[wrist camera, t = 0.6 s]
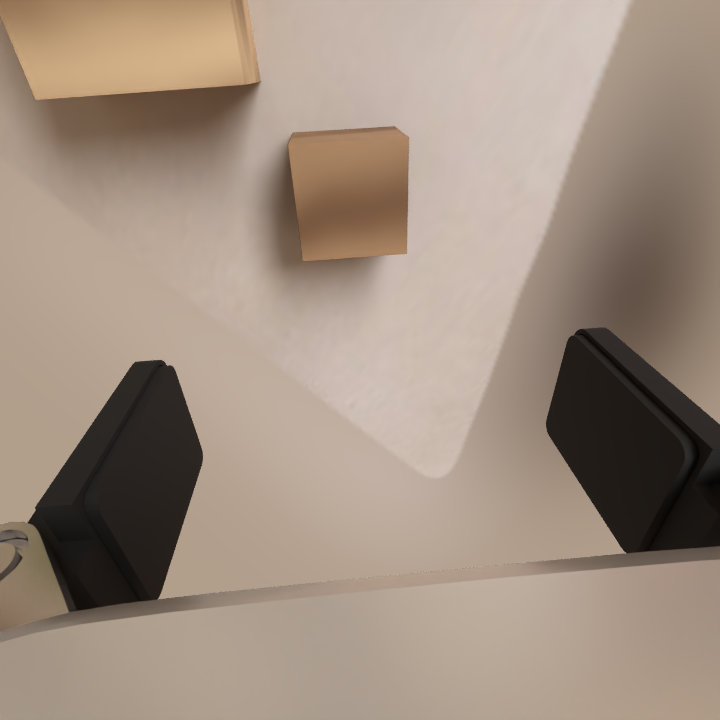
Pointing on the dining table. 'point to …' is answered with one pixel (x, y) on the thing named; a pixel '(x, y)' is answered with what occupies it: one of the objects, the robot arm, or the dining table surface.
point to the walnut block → (350, 192)
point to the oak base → (130, 45)
